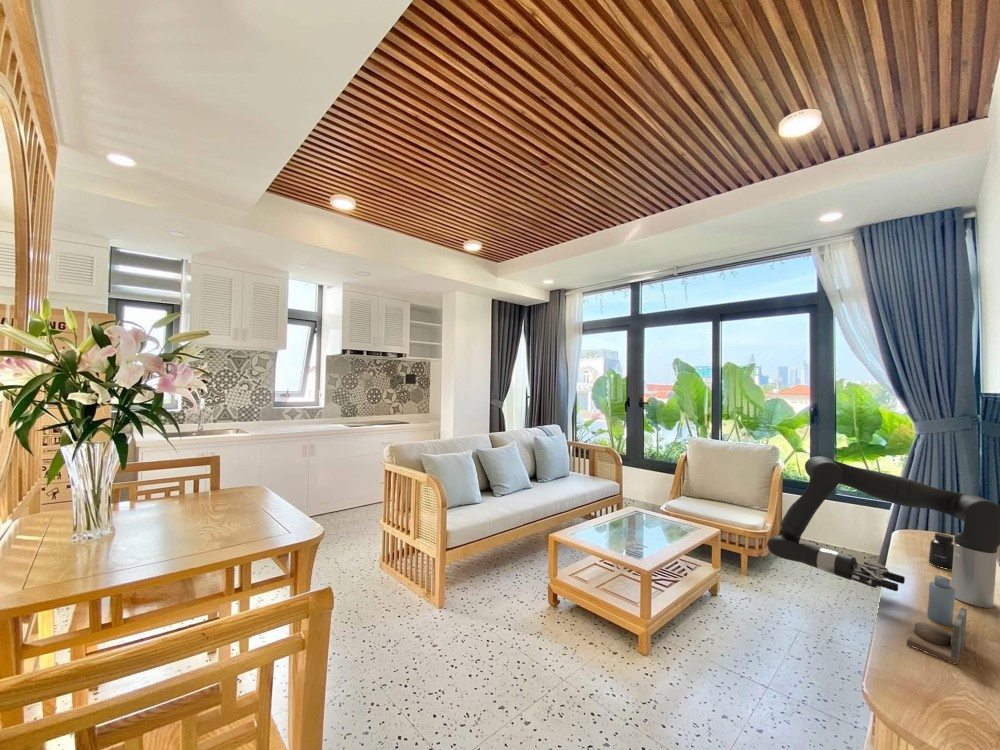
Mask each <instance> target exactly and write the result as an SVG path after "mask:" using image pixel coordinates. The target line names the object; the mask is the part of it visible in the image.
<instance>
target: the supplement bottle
mask: <svg viewBox="0 0 1000 750" xmlns="http://www.w3.org/2000/svg"><path fill="white" fill-rule="evenodd" d="M953 553H954V537H953V536H952V535H950V534H946V533H942V532H935V533H934V539H931V540H930V543H929V552H928V554H929V555H928V564H930V563H931V564H933V565H935V566H939V567H943V568H947V569H952V566H953ZM931 564H930V565H931ZM933 565H932V566H933ZM935 566H934V567H935Z"/></svg>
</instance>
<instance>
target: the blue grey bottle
mask: <svg viewBox="0 0 1000 750" xmlns="http://www.w3.org/2000/svg"><path fill="white" fill-rule="evenodd" d="M951 580H952V579H950V578H948V577H945V576H942V575H934V581H930V582H929V584H928V595H927V597H928V599H927V612H926V613H927V614H926V617H927V618H928V619H929V620H930V621H933V623H937V624H939V625H942V624H943V626H949V627H951V626H953V624H954V622H953V621H954V609H955V599H956V598H955V589H954V588H952V587H951Z"/></svg>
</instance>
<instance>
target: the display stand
mask: <svg viewBox="0 0 1000 750" xmlns="http://www.w3.org/2000/svg"><path fill="white" fill-rule="evenodd" d="M967 612H968V611H967V608H964V607H960V608H959V612H958V614H957V616H956V618H955V620H954V622H953V625H952V626H953V627H952V633H949V632H948V631H946V630H945V629H943V628H940V627H938V626H936V625H933V624H929V623H925V622H919V621H917V622H916V623H914V628H913V629H912V631H911V633H910V635H909V636H908V638H907V641H906V646H908V645H910V646H913V647H916V648H918V649H921V650H923V651H926V652H928V653H930V654H933V655H935V656H937V657H940V658H942V659H945V660H947V661H950V662H952V663H955V664H957V665H958V664H959V662H958V661H960V659H961V656H962V654H963V650H964V648H965V647H966V646H965V645H966V627H967V626H966V625H967ZM910 646H909V647H910ZM913 647H912V648H913ZM918 649H917V650H918ZM923 651H922V652H923ZM928 653H927V654H928ZM961 653H962V654H961ZM930 654H929V655H930ZM935 656H934V657H935ZM937 657H936V658H937ZM940 658H939V659H940ZM959 658H960V659H959ZM942 659H941V660H942ZM945 660H944V661H945ZM947 661H946V662H947ZM950 662H949V663H950ZM952 663H951V664H952ZM955 664H954V665H955Z"/></svg>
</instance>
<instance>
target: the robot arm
mask: <svg viewBox="0 0 1000 750" xmlns="http://www.w3.org/2000/svg"><path fill="white" fill-rule="evenodd" d="M804 469H805V472H806V474H807V475H808V476H809V478H810V480H809V482H808V485H807V487H806V489H805V491H804V492H803V494H802V495H801V496H800V497H799V498H797V500H795V502H793V503H792V504H791V506H790V507H789V508H788V510H787V511H786V513H785V514H784V516H783V518H782V520H781V523H780V527H781V528H780V530H779V532H778V534H777V535H774V536H772V537H770V538H769V539H768V540H767V543H766V545H767V546H766V547H767V549H768V551H769V552H770V553H771V554H773V556H776V557H778V558H780V559H784V560H789V561H793V562H797V563H802V564H803V565H807V566H810V567H813V568H816V569H818V570H820V571H823V572H826V573H829V574H832V575H834V576H837V577H841V578H843V579H845V580H848V581H849V580H850V581H852V580H853V581H855V582H857V583H861V584H863V585H866V586H869V587H872V588H873V589H875V588H877V587H878V588H885V589H887V590H890V591H893V592H898V591H899V584H902V585H903V584H905V579H906V578H905V576H903V575H900V574H896V573H893V572H890V571H889V570H888V568H887V567H884V566H880V565H876V564H873V563H870V562H867V561H864V562H863V564H861V563H860V564H859V563H858V562H857V559H856V557H855V556H852V555H849V554H846V553H841V552H838V551H835V550H833V549H832V550H831V549H830V548H829V549H828V548H823V547H820V546H817V545H813V544H810V543H800V540H801V537H802V536H803V533H804V532H805V530H806V528H807V527H808V526H809V524H810V522H811V520H812V519H813V517H814V515H815V514H816V512H818V511H817V510H818V509H820V507H821V505H822V504H823V503H824V502H825V500H826V499H827V498H828V497H829V495H830V494H832V493H833V491H834V490H835V489H836V488H837V487H838V485H842V486H847V487H849V488H852V489H854V490H857V491H859V492H861V493H864V494H866V495H868V496H871V497H873V498H875V499H878V500H881V501H884V502H888V503H891V504H895V505H899V506H902V507H909V508H916V509H917V508H918V509H929V510H931V511H932V510H933V511H936V512H938V513H942V514H945V515H948V516H951V517H953V518H955V519H958V520H961V521H962V522H964V523H963V528H962V529H963V530H962V532H958V533H955V534H954V537H953V544H954V553H953V566H952V570H951V579H950V580H951V582H950V587H952V588H954V589H955V598H954V599H956V600H958V601H961V602H964V603H966V604H968V605H972V606H975V607H980V608H983V609H985V608H987V609H992V608H993V607H994V598H995V590H996V589H995V588H996V574H997V573H996V572H997V559H998V558H997V557H998V548H999V547H1000V505H999V504H997V503H995V501H992V500H989V499H986V498H983V497H981V496H978V495H975V494H970V493H963V492H956V491H951V490H947V489H945V490H944V489H942V488H937V487H934V486H930V485H927V484H925V483H924V482H923V483H922V482H919V481H916V480H913V479H909V478H906V477H902V476H899V475H893V474H890V473H885V472H881V471H876V470H872V469H867V468H862V467H858V466H857V467H856V466H853V465H849V464H846V463H843V462H840V461H838V460H835V459H831V458H829V457H826V456H821V455H820V456H819V455H818V456H813V457H810V458H809V459H807V460H806V461H805V464H804Z"/></svg>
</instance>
